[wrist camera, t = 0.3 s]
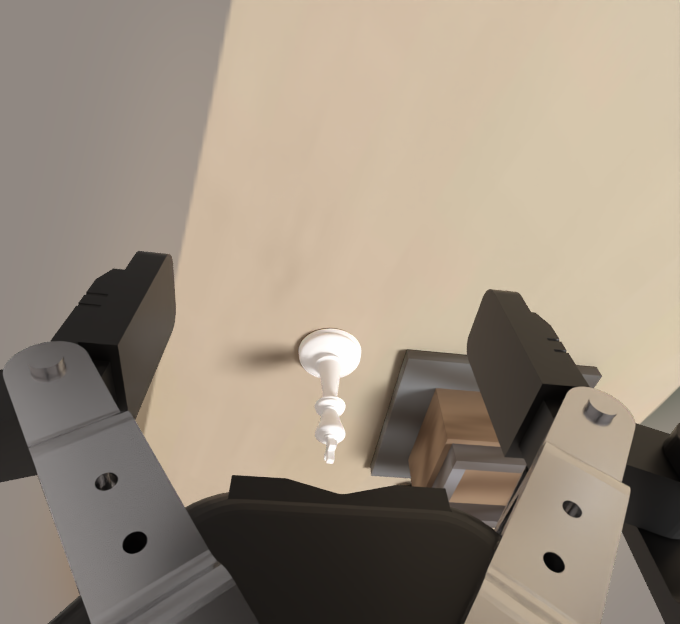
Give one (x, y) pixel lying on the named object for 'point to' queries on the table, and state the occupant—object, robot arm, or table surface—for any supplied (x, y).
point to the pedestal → (448, 435)
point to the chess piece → (329, 379)
